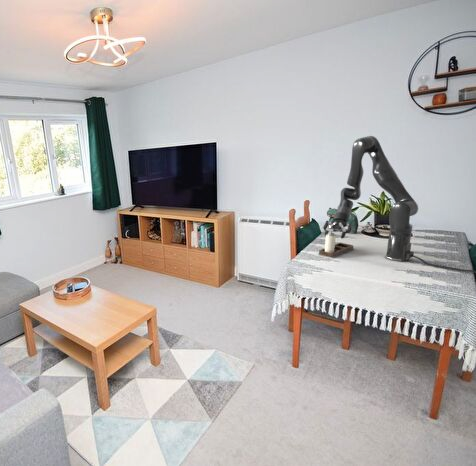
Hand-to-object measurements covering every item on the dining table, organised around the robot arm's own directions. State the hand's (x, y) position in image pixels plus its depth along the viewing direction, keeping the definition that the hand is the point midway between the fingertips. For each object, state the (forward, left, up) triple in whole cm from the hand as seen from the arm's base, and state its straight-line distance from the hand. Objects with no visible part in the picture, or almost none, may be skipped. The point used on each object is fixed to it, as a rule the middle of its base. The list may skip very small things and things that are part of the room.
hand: (333, 236), depth 190 cm
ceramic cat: (+20, -49, -11) cm, 54 cm away
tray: (-1, -3, -10) cm, 11 cm away
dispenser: (-1, +5, -10) cm, 11 cm away
